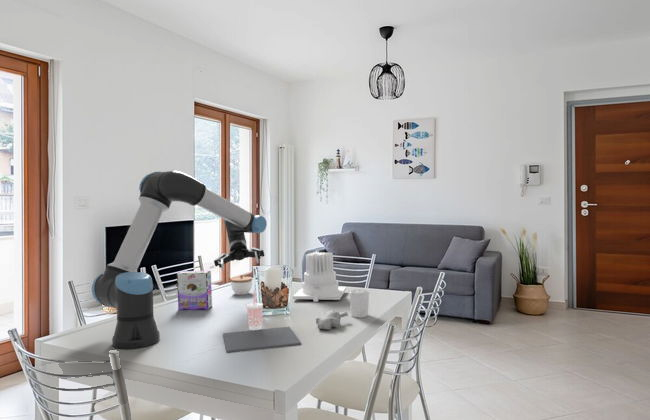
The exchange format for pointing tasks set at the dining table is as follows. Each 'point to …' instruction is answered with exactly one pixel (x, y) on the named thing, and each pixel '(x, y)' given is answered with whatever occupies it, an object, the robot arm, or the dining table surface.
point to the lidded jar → (241, 285)
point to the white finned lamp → (320, 279)
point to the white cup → (359, 302)
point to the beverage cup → (255, 315)
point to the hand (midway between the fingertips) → (239, 263)
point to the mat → (260, 339)
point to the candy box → (194, 290)
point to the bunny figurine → (330, 320)
